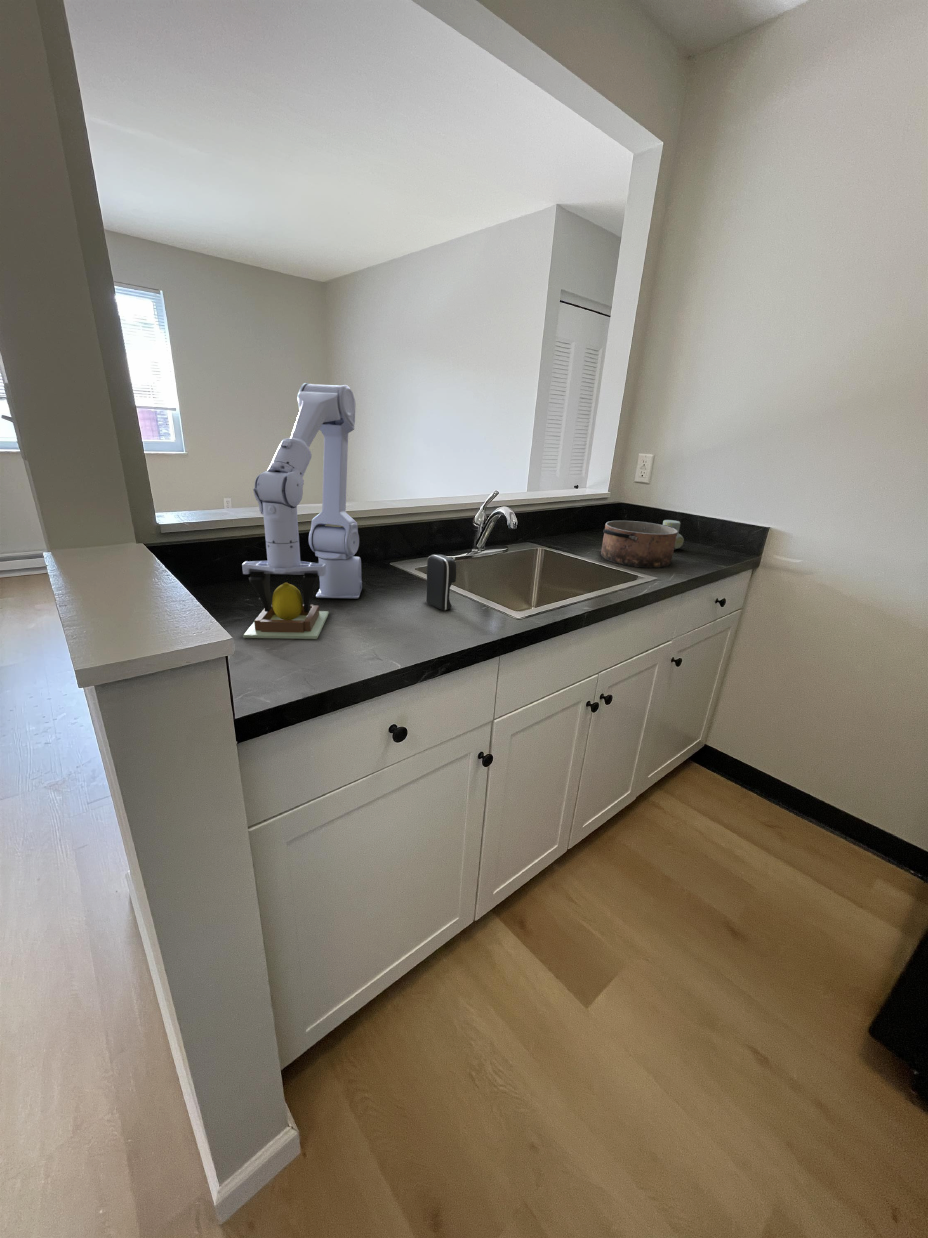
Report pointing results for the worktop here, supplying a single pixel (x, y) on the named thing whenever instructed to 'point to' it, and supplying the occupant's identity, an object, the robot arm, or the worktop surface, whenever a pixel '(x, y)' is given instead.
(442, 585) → the battery charger
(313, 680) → the worktop surface
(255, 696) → the worktop surface
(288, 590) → the lemon
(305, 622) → the cradle pad
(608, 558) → the cooking pot
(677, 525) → the air freshener
